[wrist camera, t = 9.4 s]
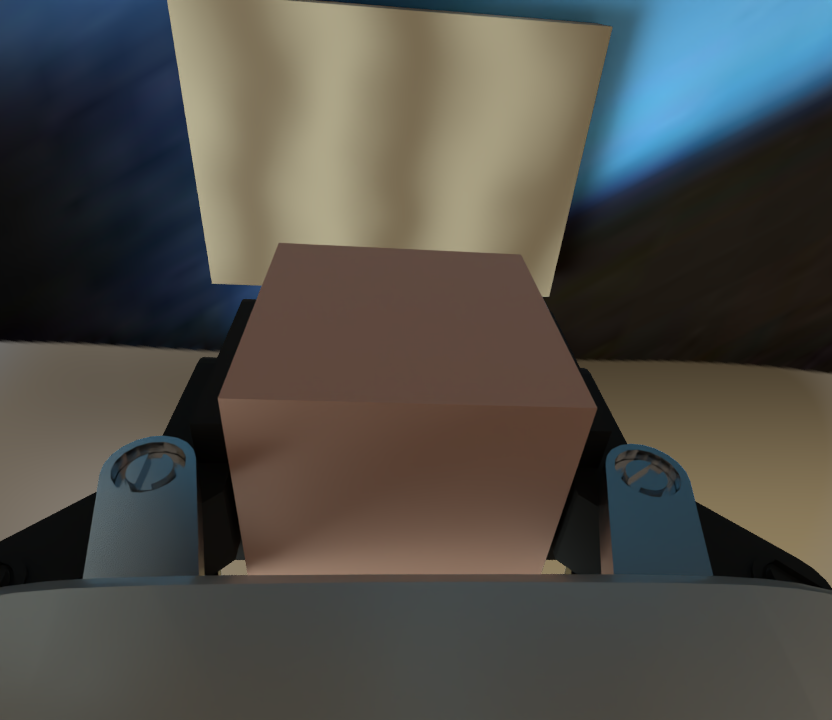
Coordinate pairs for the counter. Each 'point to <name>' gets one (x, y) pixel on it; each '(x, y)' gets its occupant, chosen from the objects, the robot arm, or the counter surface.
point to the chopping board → (382, 128)
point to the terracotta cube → (401, 415)
